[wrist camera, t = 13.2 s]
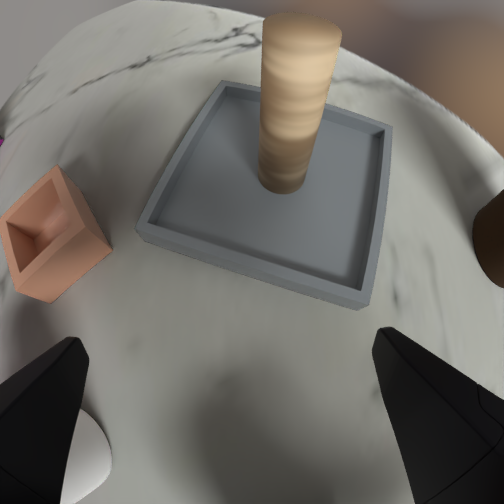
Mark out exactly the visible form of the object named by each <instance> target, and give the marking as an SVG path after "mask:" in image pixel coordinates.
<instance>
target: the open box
mask: <svg viewBox="0 0 504 504" xmlns="http://www.w3.org/2000/svg"><path fill="white" fill-rule="evenodd" d="M0 234H1V238H2V243H3V247H4V251H5V255H6V259H7V262H8V266H9V270H10V273H11V277H12V280H13V283H14V286H15V289H16V291H17V292H20V293H22V294H25V295H28V296H30V297H33V298H36V299H39V300H41V301H44V302H47V303H50V304H51V303H52V302H53V301H55V300H56V299H57V298H58V297H59V296H60V295H61V294H62V293H63V292H64V291H66V290H67V289H68V288H69V287H70V286H71V285H72V284H74V283H75V282H76V281H77V280H78V279H79V278H81V277H82V276H83V275H84V274H85V273H86V272H88V271H89V270H90V269H91V268H92V267H93V266H95V265H96V264H97V263H98V262H100V261H101V260H102V259H103V258H104V257H106V256H107V255H108V254H109V253H111V252H112V251H113V250H112V248H111V246H110V244H109V243H108V241H107V239H106V237H105V236H104V234H103V232H102V230H101V228H100V226H99V225H98V223H97V221H96V219H95V217H94V215H93V213H92V211H91V209H90V207H89V206H88V204H87V202H86V200H85V198H84V196H83V194H82V192H81V191H80V189H79V188H78V187H77V186H76V185H75V184H74V183H73V182H72V180H71V179H70V178H69V177H68V176H67V175H66V174H65V172H64V171H63V170H62V169H61V168H60V167H59V165H58V164H57V165H56V166H55V167H53V168H52V169H51V170H50V171H49V172H48V173H46V174H45V175H44V176H43V177H42V178H41V179H40V180H38V181H37V182H36V183H35V184H34V185H33V186H32V187H31V188H30V189H29V190H28V191H27V192H26V193H24V194H23V195H22V196H21V197H20V198H19V199H18V200H17V201H16V202H15V203H14V204H13V205H12V206H11V207H10V208H9V209H8V210H7V211H6V212H5V214H4V215H3V216H2V217H1V218H0Z"/></svg>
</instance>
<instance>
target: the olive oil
mask: <svg viewBox="0 0 504 504" xmlns="http://www.w3.org/2000/svg"><path fill="white" fill-rule="evenodd" d="M473 241H474V246H475V251H476V254H477V257H478V259H479V262H480V264H481V266H482V268H483V270H484V271H485V273H486V274H487V276H488V277H489V278H490V279H491V280H492V281H493V282H494V283H495V284H496V285H498V286H499V287H501V288H504V189H503V190H502V191H501V192H500V193H499V194H498V195H497V196H496V197H495V198H494V199H492V200H491V201H490V202H489V203H488V204H487V205H486V206H485V207H483V208H482V209H481V210H480V211H479V212H478V214H477V215H476V217H475V220H474V224H473Z"/></svg>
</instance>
